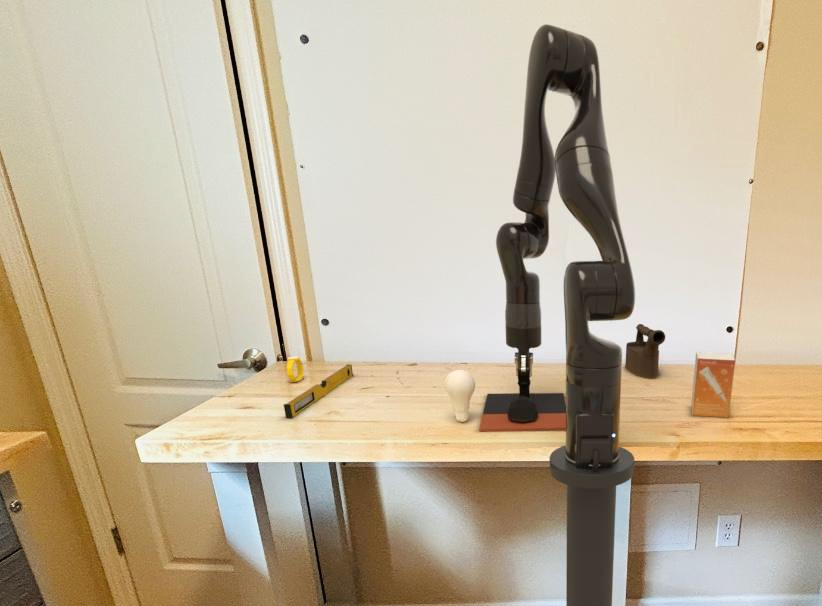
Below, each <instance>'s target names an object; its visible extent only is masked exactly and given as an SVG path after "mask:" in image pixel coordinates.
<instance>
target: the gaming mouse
mask: <svg viewBox="0 0 822 606" xmlns="http://www.w3.org/2000/svg"><path fill="white" fill-rule="evenodd" d="M507 414H508V419H509V420H512V421H517V422H528V421H532V420H535V419H537V418H538V408H537V405H536V402H535V401H534V400H532V399H530V398H528V397H526V396H521V397H519V398H517V399H515V400H513V401H511V402H510V404H509V408H508V412H507Z"/></svg>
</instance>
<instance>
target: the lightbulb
mask: <svg viewBox="0 0 822 606" xmlns="http://www.w3.org/2000/svg"><path fill="white" fill-rule="evenodd" d="M443 383H444V384H443V385H444V386H443V387H444V390H445V392H446V394H447V395H448V397H449V398H450V400H451V402H452V407H453V411H454V413H455V419H456V420H457V421H458V422H460V423H464V422H466V421H467V420H468V419H469V410H470V402H471V398H472V396H473V394H474V393H475V389H476V381H475V379H474V377H473V376H472V374H471V373H469V372H468V371H466V370H464V369H456V370H453V371H451V372H449V373H448V374H447V376H446V377H445V380H444V382H443Z"/></svg>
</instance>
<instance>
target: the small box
mask: <svg viewBox="0 0 822 606" xmlns="http://www.w3.org/2000/svg"><path fill="white" fill-rule="evenodd" d="M735 366H736V358H735V357H734V354H733V353H726V352H725V353H724V352H723V353H722V352H703V351H700V352H699V351H696V352H695V359H694V369H693V370H694V371H693V380H692V381H693V383H692V393H691V404H690V405H691V406H690V408H691V415H692V416H702V417H715V418H725V419H727V418H729V417H730V408H731V400H732V393H733V392H732V391H733V383H734V375H735Z"/></svg>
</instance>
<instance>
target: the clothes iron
mask: <svg viewBox="0 0 822 606" xmlns="http://www.w3.org/2000/svg"><path fill="white" fill-rule="evenodd" d="M635 329H636V331H637V332H636V337H635V341H629V342H626V346H625V363H624V368H625V370H627V371H628V372H629V373H632V374H633V375H635V376H637V377H642V378H645V379H655V378H657V377H658V376H659V362H660V361H659V359H660V350H659V347H660V345H662V344H664V343H665V340H666V334H665V331H663V330H661V329H655V330H654V329H651V328H650V327H649V326H645V325H644V324H642V323H638V324H637V325H636V326H635ZM644 336H646V337H647V339H646V340H645V339H644Z"/></svg>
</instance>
